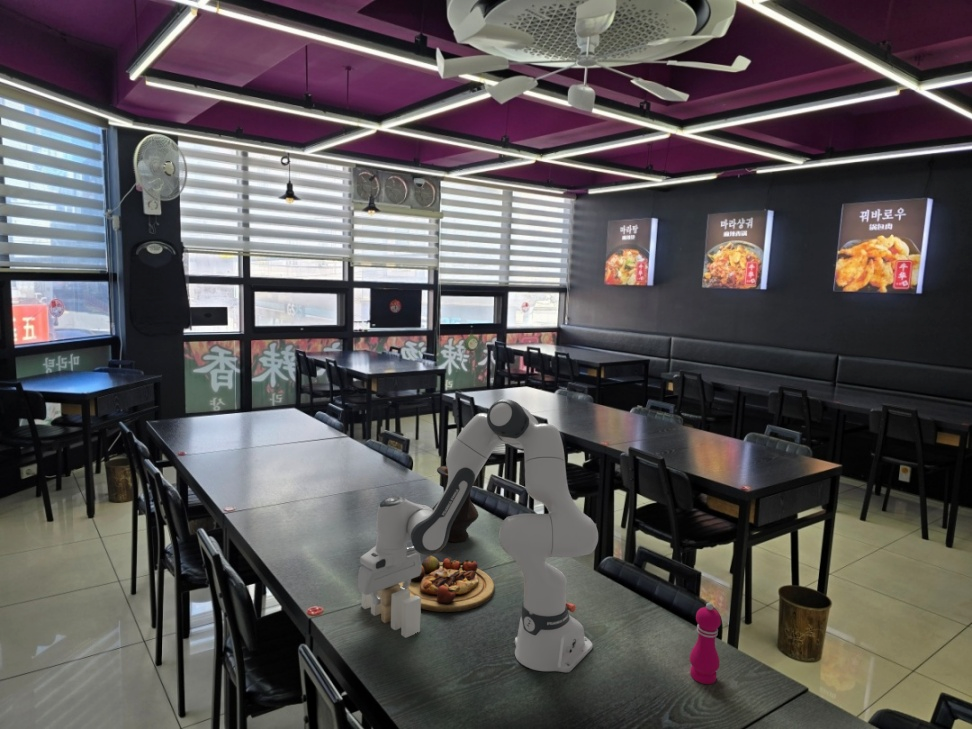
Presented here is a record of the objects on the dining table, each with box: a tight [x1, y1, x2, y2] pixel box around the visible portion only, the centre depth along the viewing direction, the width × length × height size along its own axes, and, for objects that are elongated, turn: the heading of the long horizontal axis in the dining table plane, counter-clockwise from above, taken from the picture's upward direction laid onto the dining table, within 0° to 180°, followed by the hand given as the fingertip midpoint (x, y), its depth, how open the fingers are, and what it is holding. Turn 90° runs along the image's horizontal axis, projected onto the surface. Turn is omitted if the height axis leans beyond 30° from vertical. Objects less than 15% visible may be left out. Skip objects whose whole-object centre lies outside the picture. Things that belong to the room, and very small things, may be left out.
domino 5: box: [400, 595, 422, 639], centre depth 175 cm, size 5×2×10 cm, turn 134°
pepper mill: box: [689, 602, 722, 685], centre depth 160 cm, size 7×7×20 cm
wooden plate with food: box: [399, 555, 495, 613], centre depth 202 cm, size 32×32×8 cm
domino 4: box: [390, 589, 410, 631], centre depth 179 cm, size 5×2×10 cm, turn 134°
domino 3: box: [380, 584, 400, 624], centre depth 182 cm, size 5×2×10 cm, turn 134°
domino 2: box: [370, 590, 382, 617], centre depth 186 cm, size 5×2×10 cm, turn 134°
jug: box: [431, 465, 479, 543], centre depth 240 cm, size 21×18×30 cm
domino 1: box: [360, 593, 371, 610], centre depth 189 cm, size 5×2×10 cm, turn 134°
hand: (390, 598), depth 182 cm, fingers open, 8 cm apart
